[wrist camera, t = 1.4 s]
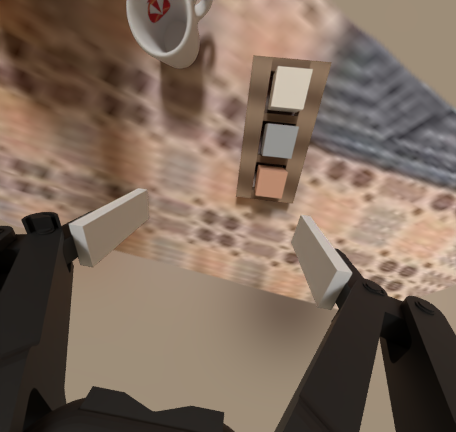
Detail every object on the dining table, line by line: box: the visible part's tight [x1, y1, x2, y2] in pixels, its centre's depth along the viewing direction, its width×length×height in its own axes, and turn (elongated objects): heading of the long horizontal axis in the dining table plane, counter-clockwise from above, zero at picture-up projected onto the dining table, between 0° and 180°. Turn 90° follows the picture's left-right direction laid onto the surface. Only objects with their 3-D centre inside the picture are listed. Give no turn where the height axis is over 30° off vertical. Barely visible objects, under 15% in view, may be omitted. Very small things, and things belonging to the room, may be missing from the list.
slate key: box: [260, 123, 299, 159], centre depth 28 cm, size 4×4×4 cm
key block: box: [236, 55, 332, 203], centre depth 31 cm, size 21×11×3 cm, turn 174°
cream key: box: [268, 66, 313, 113], centre depth 25 cm, size 4×4×4 cm
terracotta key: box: [255, 165, 288, 199], centre depth 31 cm, size 4×4×4 cm
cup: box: [126, 0, 212, 69], centre depth 24 cm, size 11×8×8 cm
